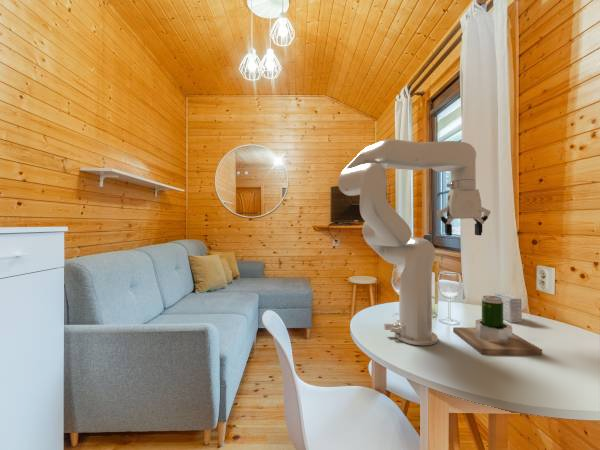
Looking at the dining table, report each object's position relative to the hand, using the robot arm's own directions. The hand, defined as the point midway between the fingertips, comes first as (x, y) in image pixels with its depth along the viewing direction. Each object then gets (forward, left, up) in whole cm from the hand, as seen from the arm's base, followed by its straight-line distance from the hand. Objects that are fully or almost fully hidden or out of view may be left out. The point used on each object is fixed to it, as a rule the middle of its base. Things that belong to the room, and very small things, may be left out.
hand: (463, 235), depth 100 cm
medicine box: (+19, +7, -32) cm, 38 cm away
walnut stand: (+1, -14, -32) cm, 35 cm away
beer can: (+1, -14, -30) cm, 33 cm away
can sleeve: (+1, -14, -30) cm, 33 cm away
